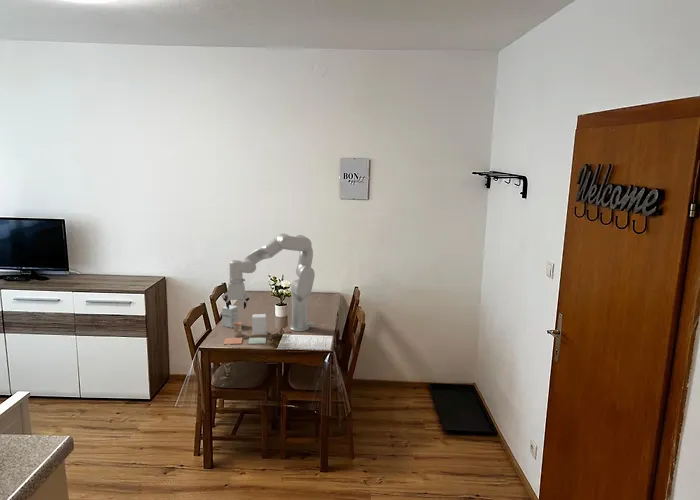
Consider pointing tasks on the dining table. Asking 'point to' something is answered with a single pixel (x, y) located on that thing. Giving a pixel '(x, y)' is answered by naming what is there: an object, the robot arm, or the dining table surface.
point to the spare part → (237, 329)
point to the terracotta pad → (233, 341)
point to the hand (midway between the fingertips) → (236, 308)
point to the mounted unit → (259, 326)
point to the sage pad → (257, 340)
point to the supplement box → (229, 316)
